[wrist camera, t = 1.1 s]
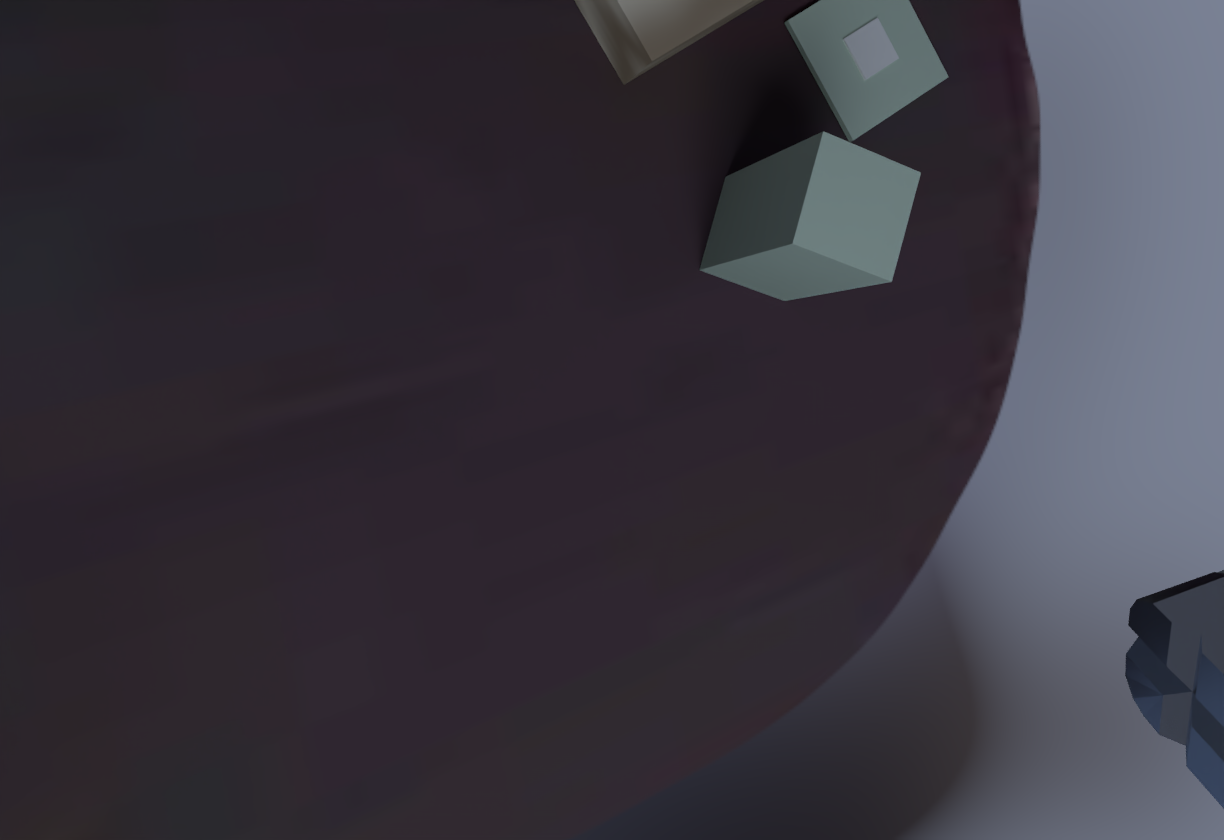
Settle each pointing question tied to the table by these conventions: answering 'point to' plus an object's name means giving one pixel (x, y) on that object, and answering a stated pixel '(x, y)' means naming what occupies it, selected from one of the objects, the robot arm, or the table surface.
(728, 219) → the sage block
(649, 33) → the birch base block
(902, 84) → the tile
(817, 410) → the table surface
